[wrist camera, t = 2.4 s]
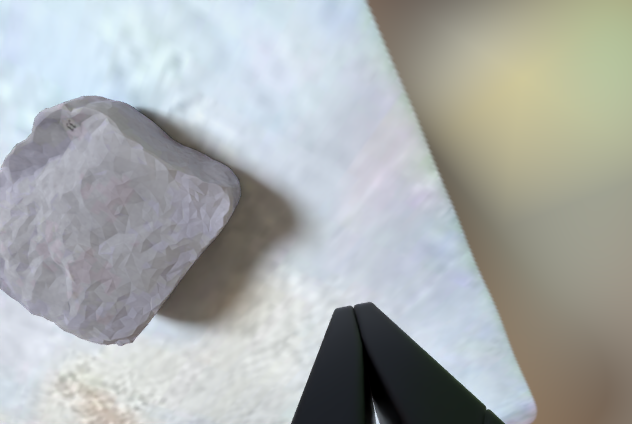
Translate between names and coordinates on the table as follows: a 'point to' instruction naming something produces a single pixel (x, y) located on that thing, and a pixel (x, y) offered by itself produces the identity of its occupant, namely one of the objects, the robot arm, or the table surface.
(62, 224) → the stone block
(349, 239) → the table surface
